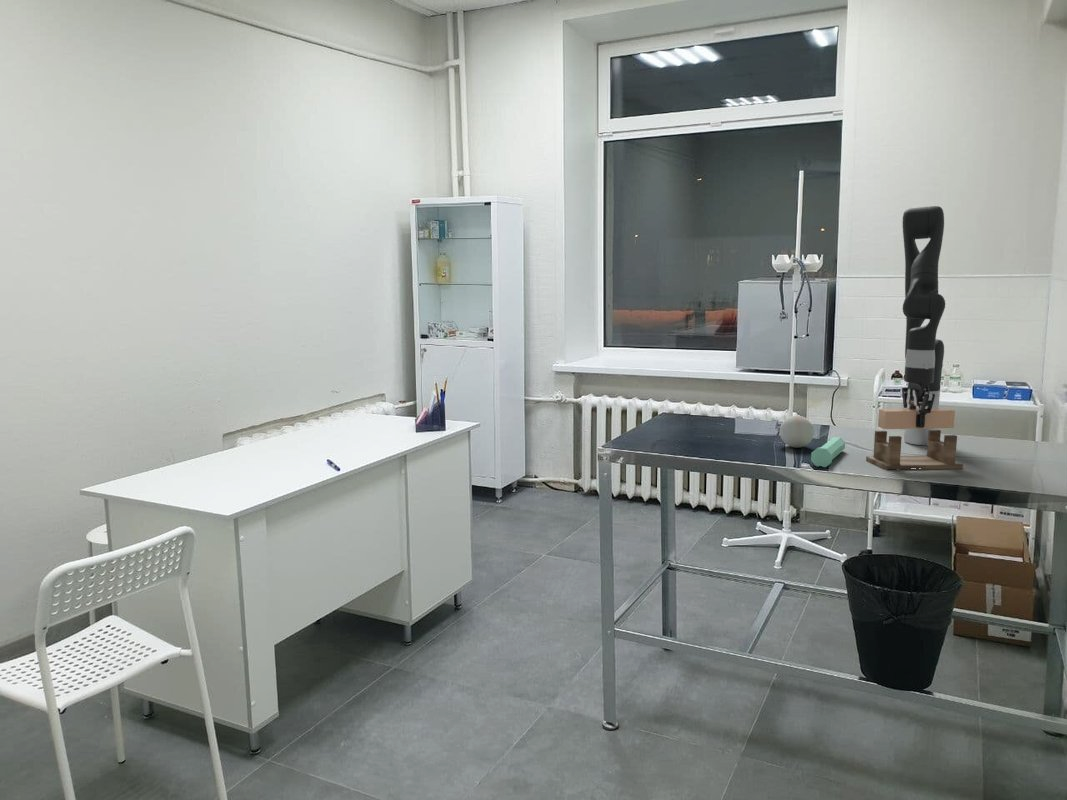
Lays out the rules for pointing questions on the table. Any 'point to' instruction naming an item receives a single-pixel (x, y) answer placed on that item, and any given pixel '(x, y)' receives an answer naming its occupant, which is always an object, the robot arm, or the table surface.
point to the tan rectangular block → (908, 418)
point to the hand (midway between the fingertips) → (915, 425)
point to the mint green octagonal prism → (827, 452)
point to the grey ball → (796, 431)
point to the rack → (936, 458)
